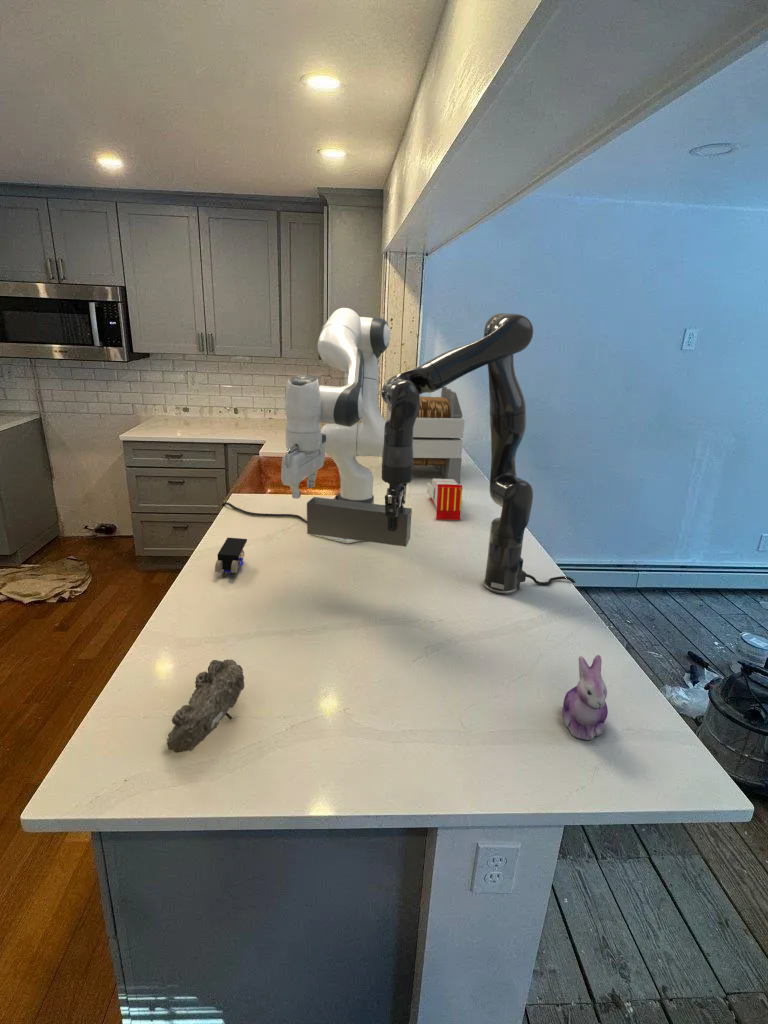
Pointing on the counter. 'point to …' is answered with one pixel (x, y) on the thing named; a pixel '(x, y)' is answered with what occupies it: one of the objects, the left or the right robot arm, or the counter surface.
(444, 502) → the toy
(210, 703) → the fossil
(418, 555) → the counter surface
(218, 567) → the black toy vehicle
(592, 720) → the figurine
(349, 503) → the bar
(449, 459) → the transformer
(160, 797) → the counter surface
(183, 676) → the counter surface
